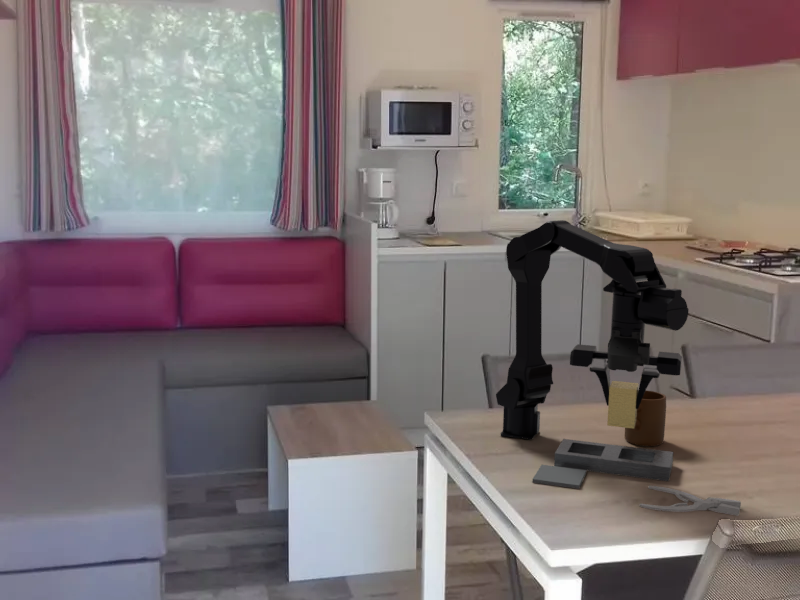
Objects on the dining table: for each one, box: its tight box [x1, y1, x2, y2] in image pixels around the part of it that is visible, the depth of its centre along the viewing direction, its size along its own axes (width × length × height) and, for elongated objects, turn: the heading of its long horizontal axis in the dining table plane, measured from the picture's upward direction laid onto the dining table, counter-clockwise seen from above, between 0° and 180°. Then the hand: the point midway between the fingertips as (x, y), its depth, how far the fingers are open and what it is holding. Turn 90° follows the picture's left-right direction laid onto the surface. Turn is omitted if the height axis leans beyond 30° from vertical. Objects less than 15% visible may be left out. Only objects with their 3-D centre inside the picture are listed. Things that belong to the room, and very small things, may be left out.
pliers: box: [638, 485, 742, 516], centre depth 155 cm, size 10×2×15 cm
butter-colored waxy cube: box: [606, 380, 640, 429], centre depth 168 cm, size 5×5×7 cm
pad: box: [531, 464, 587, 490], centre depth 166 cm, size 8×8×1 cm
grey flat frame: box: [553, 438, 674, 482], centre depth 172 cm, size 20×9×2 cm, turn 70°
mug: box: [624, 389, 667, 447], centre depth 185 cm, size 12×8×9 cm, turn 140°
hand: (622, 406), depth 168 cm, fingers closed on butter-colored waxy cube, 5 cm apart
